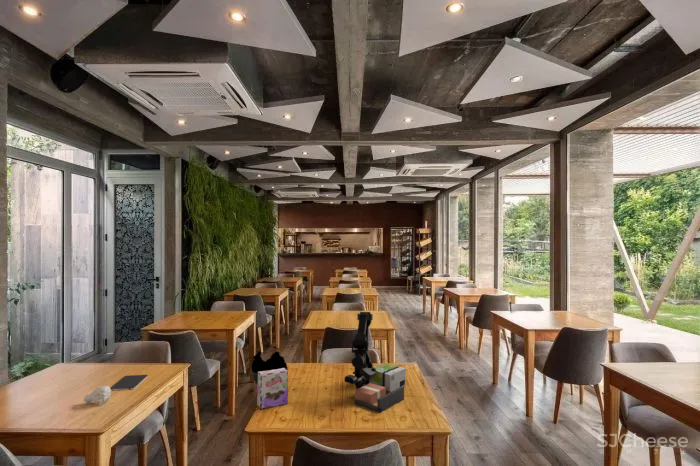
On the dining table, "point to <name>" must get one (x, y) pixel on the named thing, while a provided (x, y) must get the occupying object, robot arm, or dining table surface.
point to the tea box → (389, 376)
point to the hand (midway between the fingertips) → (359, 392)
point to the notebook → (129, 382)
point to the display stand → (384, 400)
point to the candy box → (272, 388)
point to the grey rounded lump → (98, 395)
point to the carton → (370, 393)
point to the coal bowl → (266, 364)
